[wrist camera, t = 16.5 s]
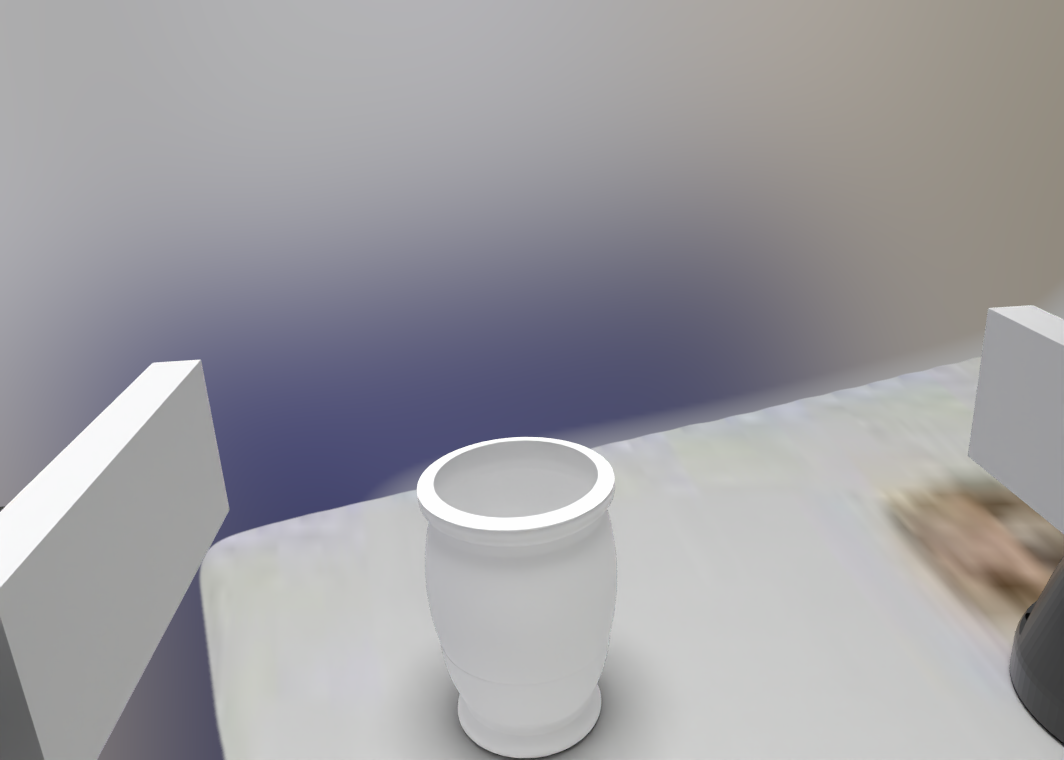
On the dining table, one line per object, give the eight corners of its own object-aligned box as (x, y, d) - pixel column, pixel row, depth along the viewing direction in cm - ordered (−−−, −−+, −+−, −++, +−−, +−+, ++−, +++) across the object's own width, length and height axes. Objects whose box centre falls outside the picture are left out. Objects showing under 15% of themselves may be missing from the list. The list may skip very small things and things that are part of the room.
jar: (600, 792, 45) (593, 536, 40) (412, 760, 48) (382, 516, 43) (632, 660, 55) (630, 439, 49) (474, 639, 57) (456, 428, 52)
